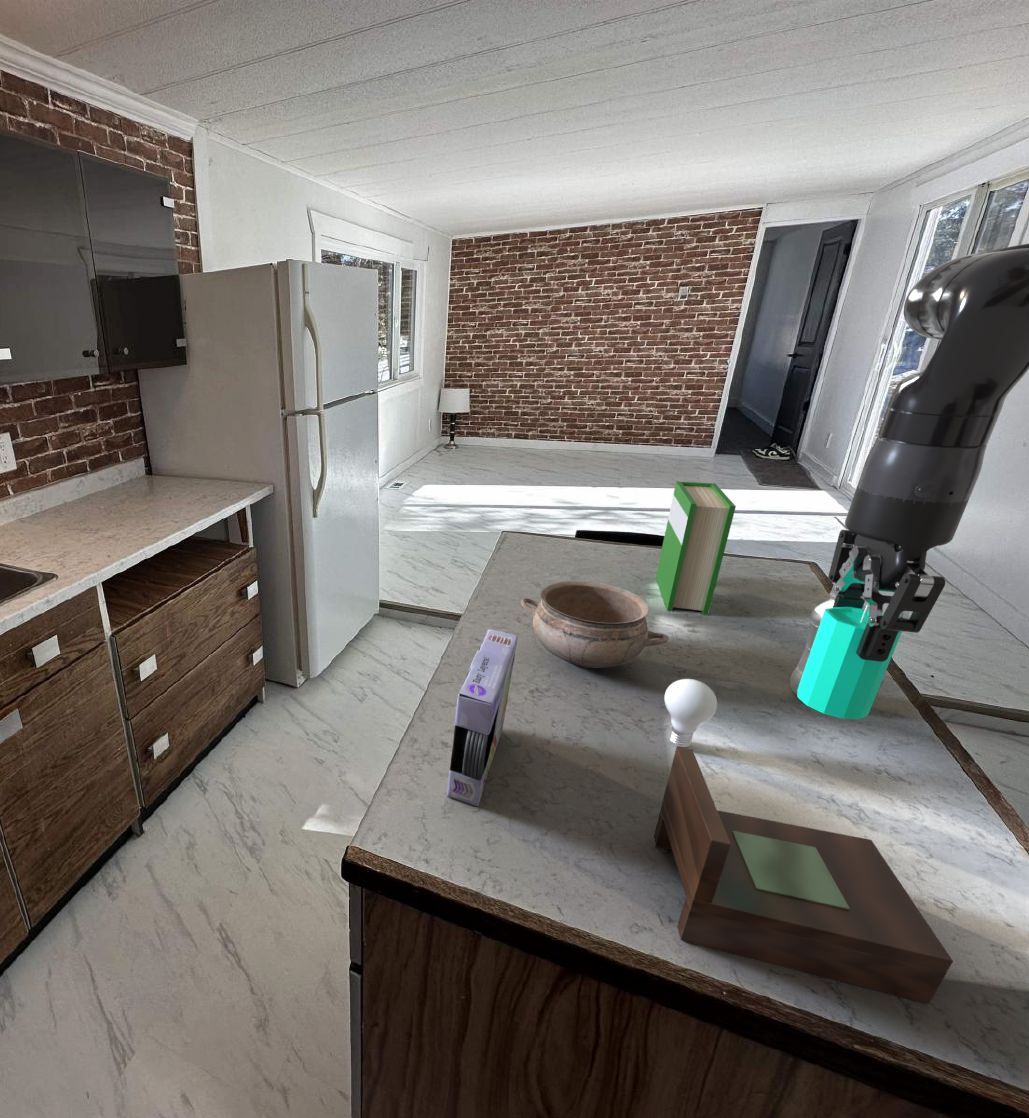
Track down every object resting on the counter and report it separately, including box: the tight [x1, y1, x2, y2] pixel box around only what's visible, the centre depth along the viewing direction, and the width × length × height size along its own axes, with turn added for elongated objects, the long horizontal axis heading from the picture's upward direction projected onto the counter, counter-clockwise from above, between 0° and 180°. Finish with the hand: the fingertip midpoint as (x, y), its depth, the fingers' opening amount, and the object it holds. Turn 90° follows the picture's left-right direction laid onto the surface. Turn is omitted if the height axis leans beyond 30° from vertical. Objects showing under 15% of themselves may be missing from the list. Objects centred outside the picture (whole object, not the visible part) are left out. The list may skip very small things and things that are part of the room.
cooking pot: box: [520, 580, 670, 669], centre depth 109 cm, size 25×19×12 cm
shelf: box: [652, 746, 954, 1005], centre depth 62 cm, size 20×14×14 cm
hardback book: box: [655, 480, 736, 616], centre depth 129 cm, size 18×7×24 cm, turn 157°
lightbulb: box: [663, 678, 718, 748], centre depth 87 cm, size 6×6×11 cm
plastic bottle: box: [789, 583, 864, 697], centre depth 94 cm, size 6×7×20 cm
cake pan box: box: [446, 628, 519, 807], centre depth 84 cm, size 19×5×18 cm, turn 151°
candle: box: [796, 604, 903, 720], centre depth 63 cm, size 6×6×12 cm
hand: (854, 642), depth 62 cm, fingers closed on candle, 6 cm apart
